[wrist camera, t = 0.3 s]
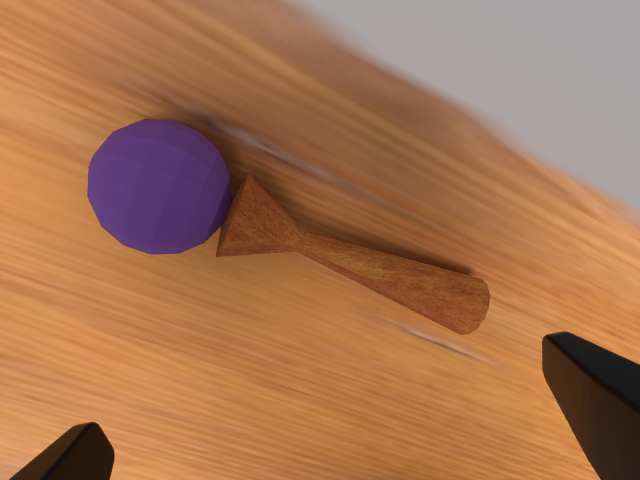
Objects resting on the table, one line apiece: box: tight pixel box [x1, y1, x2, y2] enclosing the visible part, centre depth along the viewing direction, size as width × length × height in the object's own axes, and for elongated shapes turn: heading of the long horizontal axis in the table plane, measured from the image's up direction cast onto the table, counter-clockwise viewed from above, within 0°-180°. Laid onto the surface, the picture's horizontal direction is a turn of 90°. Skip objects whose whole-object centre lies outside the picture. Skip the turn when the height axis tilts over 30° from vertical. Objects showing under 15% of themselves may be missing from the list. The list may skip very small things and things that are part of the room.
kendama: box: [87, 119, 490, 335], centre depth 20 cm, size 6×6×20 cm
